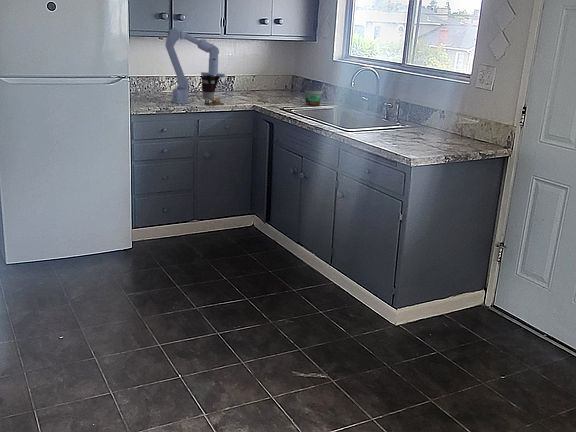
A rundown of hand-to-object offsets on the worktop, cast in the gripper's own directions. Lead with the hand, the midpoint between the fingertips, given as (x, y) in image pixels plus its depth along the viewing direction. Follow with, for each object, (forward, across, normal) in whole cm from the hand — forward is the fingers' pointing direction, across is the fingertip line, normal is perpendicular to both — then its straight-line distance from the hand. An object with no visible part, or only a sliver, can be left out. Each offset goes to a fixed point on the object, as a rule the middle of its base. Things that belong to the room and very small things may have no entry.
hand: (212, 88), depth 401 cm
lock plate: (+9, +2, -3) cm, 10 cm away
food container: (+10, +63, +23) cm, 68 cm away
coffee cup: (+10, -6, +20) cm, 23 cm away
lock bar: (+8, +3, -2) cm, 9 cm away
